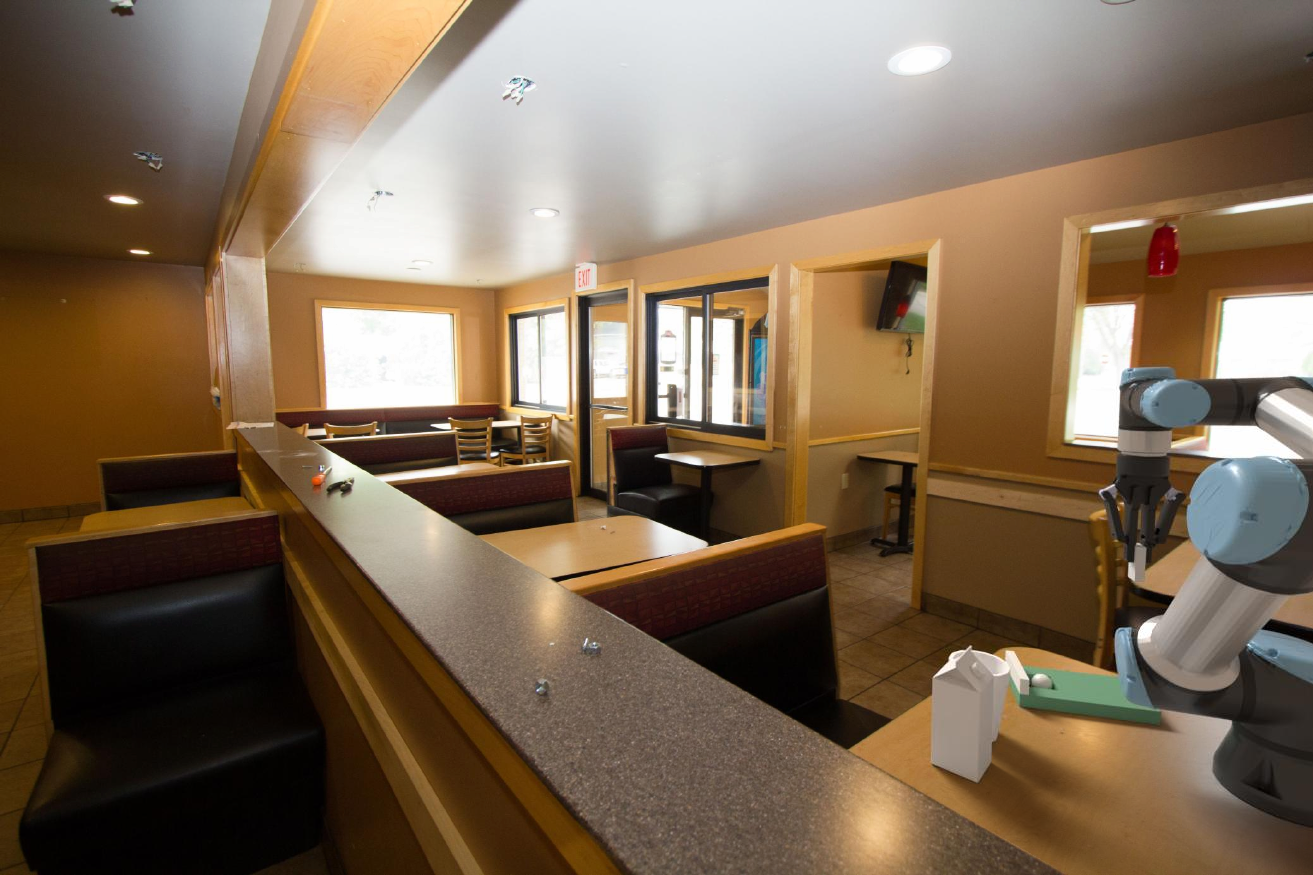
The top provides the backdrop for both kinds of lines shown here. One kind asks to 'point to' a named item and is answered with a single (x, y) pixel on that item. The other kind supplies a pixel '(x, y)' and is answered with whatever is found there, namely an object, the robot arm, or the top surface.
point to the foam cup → (1000, 683)
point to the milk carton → (962, 717)
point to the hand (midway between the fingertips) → (1136, 579)
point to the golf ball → (1041, 681)
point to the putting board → (1076, 693)
